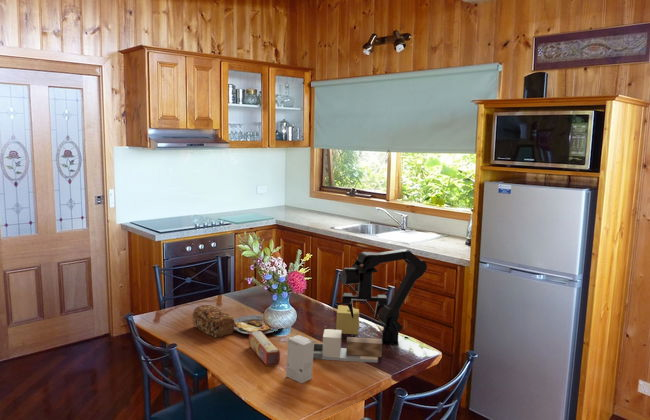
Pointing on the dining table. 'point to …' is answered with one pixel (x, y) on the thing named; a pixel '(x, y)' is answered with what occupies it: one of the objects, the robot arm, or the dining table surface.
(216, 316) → the bread
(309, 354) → the skincare box
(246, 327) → the food plate
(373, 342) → the walnut block
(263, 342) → the snack package
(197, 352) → the dining table surface
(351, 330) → the cheese
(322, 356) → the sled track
